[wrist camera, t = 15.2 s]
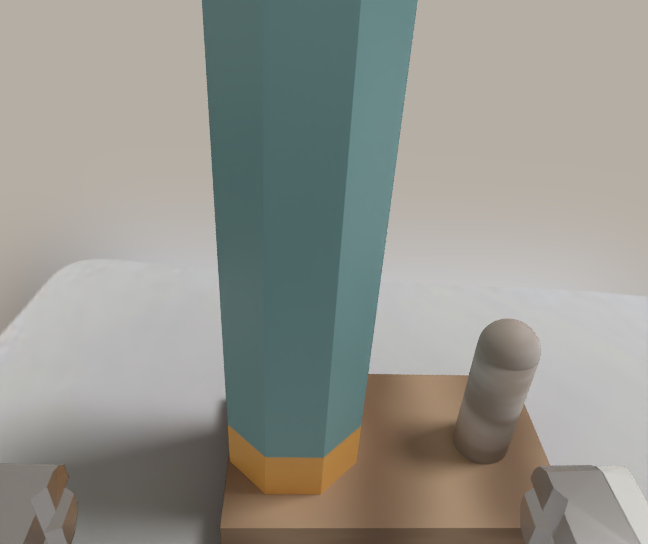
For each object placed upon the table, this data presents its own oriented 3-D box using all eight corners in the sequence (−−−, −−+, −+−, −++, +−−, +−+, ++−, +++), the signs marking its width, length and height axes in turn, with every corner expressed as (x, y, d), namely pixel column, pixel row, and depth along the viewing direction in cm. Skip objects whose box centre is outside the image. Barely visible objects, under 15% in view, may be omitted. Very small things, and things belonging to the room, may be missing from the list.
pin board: (504, 401, 33) (548, 266, 28) (562, 553, 26) (637, 409, 21) (240, 398, 32) (234, 258, 27) (222, 554, 25) (209, 404, 20)
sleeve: (350, 396, 30) (398, -36, 19) (359, 494, 25) (431, -4, 14) (238, 394, 30) (218, -46, 19) (225, 493, 25) (190, -18, 14)
